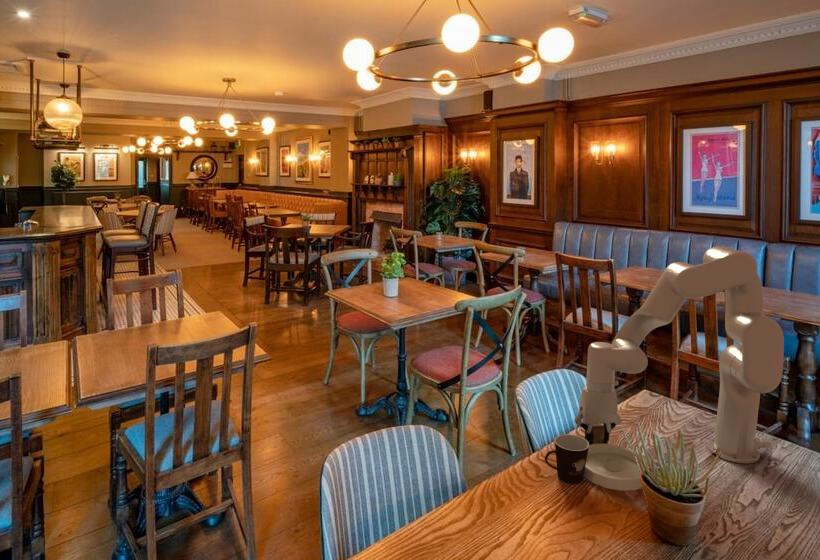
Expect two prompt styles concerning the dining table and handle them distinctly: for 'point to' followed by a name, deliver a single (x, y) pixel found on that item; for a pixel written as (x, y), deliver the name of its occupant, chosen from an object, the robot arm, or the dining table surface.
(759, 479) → the dining table surface
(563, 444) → the coffee mug
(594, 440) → the cylinder
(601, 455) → the tray
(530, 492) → the dining table surface
